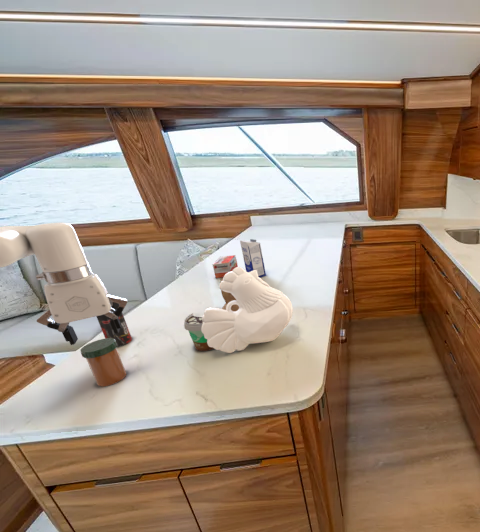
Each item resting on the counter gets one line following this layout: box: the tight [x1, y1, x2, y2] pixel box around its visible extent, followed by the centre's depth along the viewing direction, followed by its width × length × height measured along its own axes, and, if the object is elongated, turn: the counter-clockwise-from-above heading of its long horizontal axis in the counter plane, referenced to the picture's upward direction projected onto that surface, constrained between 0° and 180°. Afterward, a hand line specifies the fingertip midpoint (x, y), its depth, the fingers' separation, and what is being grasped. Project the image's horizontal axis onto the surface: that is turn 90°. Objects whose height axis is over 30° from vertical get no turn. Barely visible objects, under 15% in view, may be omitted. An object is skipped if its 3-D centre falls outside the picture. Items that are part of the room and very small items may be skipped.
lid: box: [80, 337, 118, 359], centre depth 79 cm, size 7×7×2 cm
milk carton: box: [239, 238, 267, 278], centre depth 154 cm, size 7×7×20 cm
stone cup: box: [220, 278, 239, 311], centre depth 117 cm, size 15×12×15 cm
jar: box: [85, 347, 127, 388], centre depth 80 cm, size 6×6×10 cm
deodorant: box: [95, 302, 133, 348], centre depth 97 cm, size 6×6×15 cm
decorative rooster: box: [201, 266, 294, 354], centre depth 95 cm, size 25×16×25 cm
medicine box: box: [211, 254, 239, 279], centre depth 162 cm, size 15×8×8 cm, turn 16°
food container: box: [183, 313, 215, 352], centre depth 94 cm, size 12×6×10 cm, turn 73°
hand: (96, 336), depth 78 cm, fingers open, 7 cm apart
